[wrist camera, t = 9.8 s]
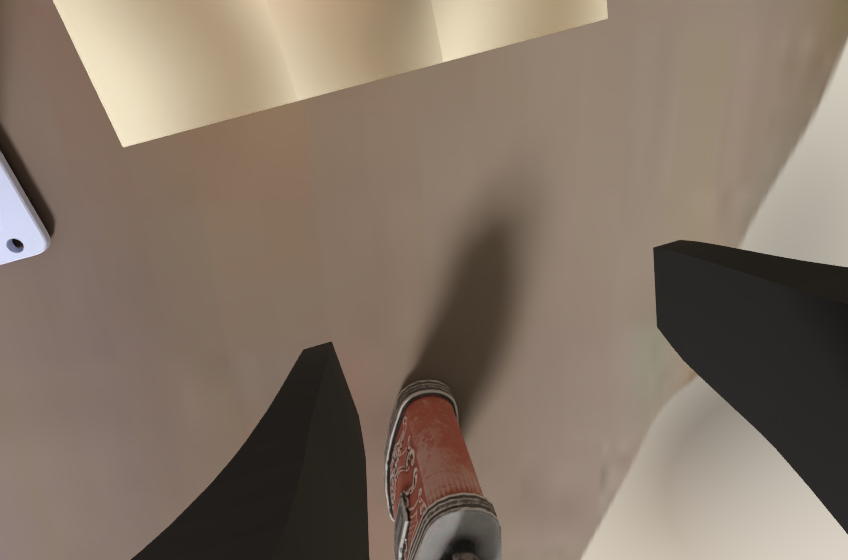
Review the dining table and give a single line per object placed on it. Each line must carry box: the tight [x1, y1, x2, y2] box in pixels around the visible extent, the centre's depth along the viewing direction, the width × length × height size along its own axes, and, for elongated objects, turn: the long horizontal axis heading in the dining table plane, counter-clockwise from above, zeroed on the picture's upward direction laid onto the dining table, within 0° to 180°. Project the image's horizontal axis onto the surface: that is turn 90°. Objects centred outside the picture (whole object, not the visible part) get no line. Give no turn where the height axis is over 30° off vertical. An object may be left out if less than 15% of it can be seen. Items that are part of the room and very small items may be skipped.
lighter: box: [384, 380, 502, 560], centre depth 22 cm, size 8×3×10 cm, turn 174°
